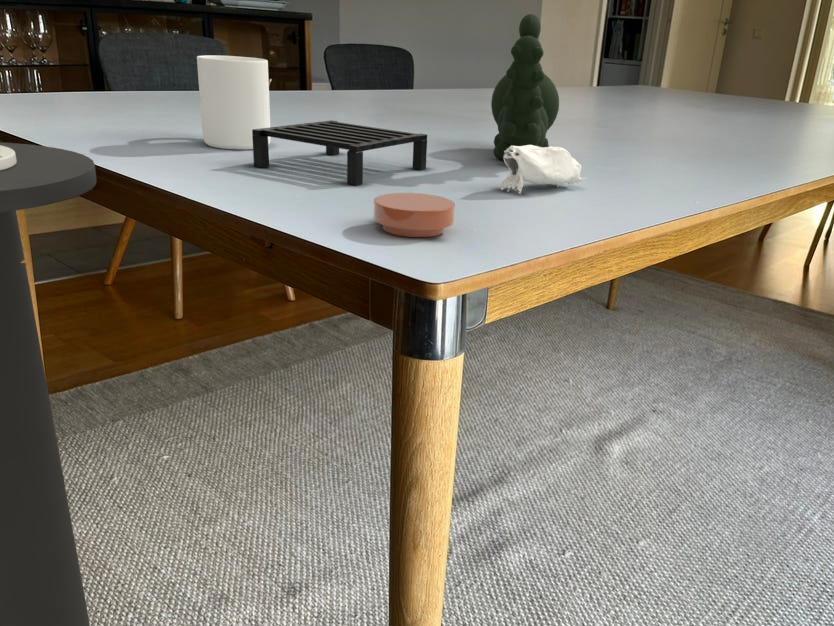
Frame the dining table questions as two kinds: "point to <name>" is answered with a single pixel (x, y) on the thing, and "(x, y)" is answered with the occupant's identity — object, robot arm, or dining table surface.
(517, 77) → the toy figurine
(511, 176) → the white lumpy oblong piece
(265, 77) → the mug
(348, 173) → the rack
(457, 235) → the dining table surface
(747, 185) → the dining table surface
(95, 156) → the dining table surface
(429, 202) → the terracotta round box
